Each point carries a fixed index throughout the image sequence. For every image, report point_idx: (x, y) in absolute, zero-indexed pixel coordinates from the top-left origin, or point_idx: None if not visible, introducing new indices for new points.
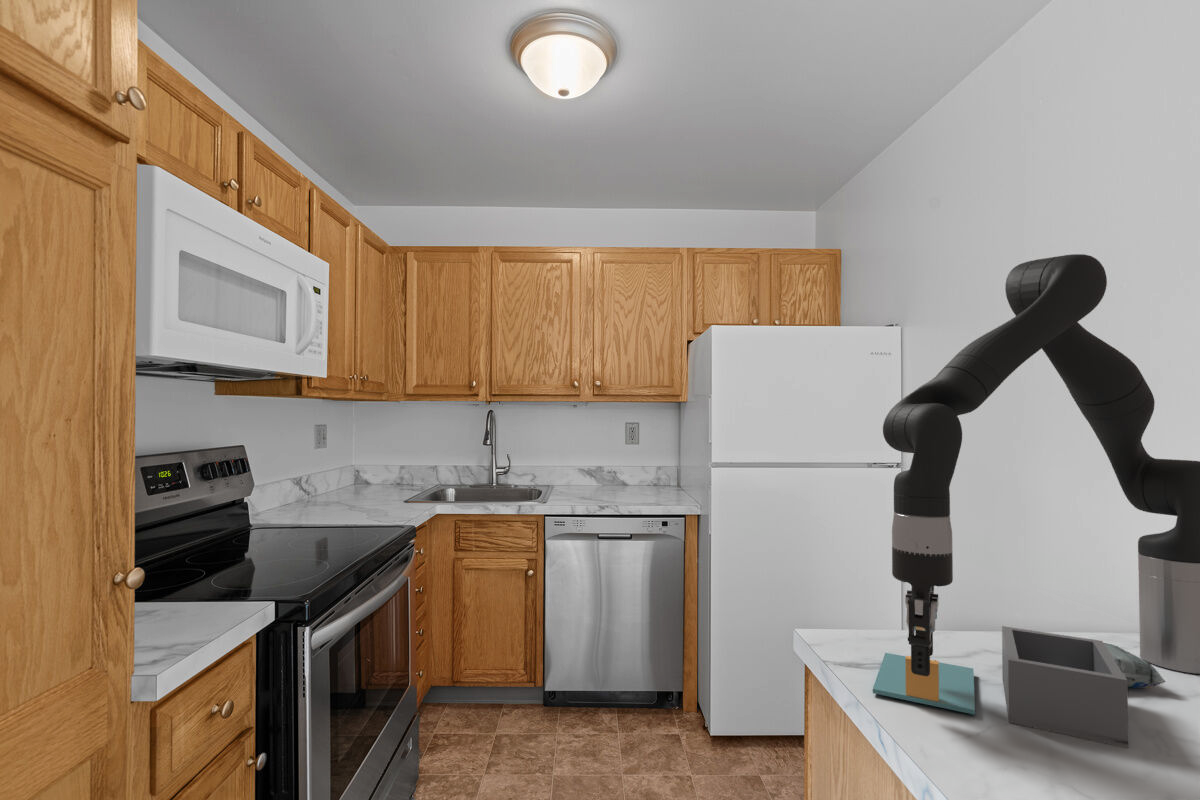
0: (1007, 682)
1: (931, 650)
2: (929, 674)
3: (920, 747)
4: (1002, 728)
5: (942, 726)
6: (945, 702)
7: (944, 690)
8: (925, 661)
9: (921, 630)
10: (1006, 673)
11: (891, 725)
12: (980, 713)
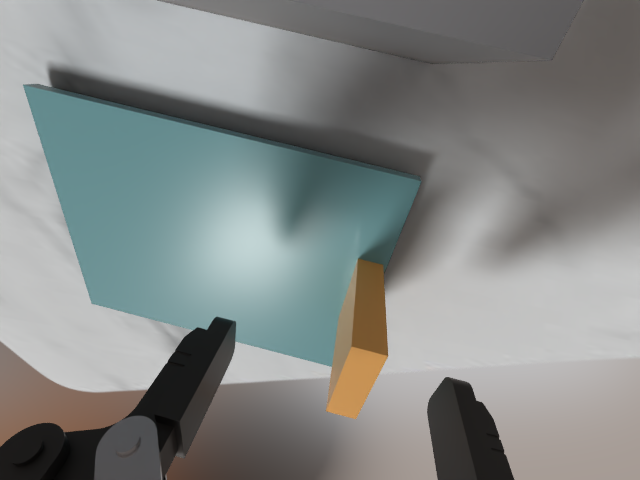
0: (357, 38)
1: (227, 336)
2: (469, 384)
3: (609, 335)
4: (483, 103)
5: (487, 267)
6: (381, 249)
7: (289, 230)
8: (502, 455)
9: (188, 437)
10: (258, 13)
11: (493, 356)
12: (374, 145)
